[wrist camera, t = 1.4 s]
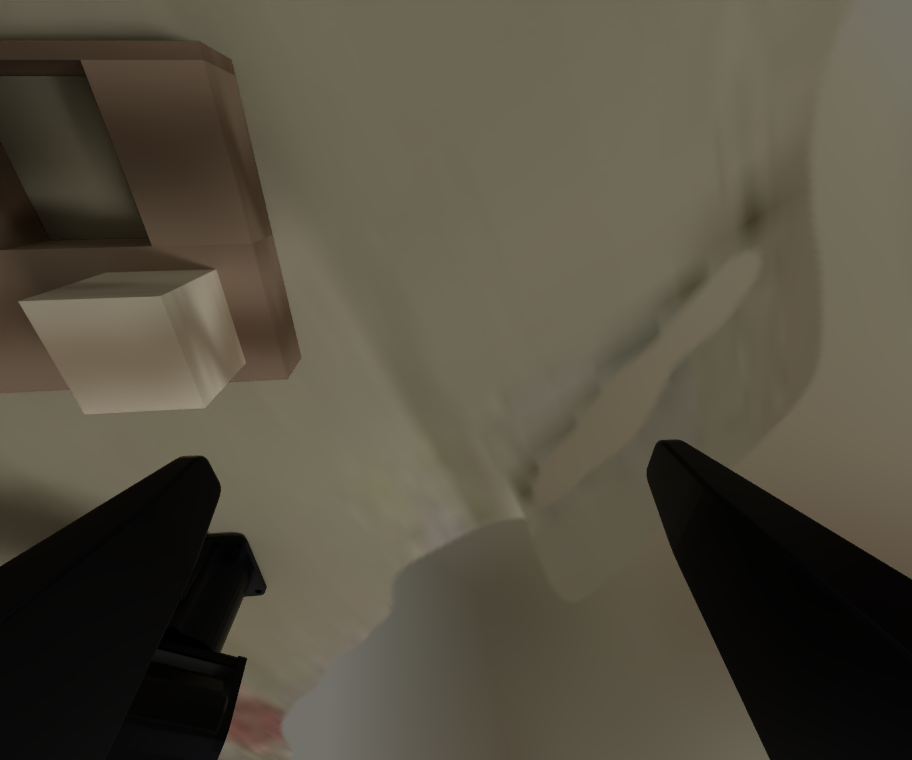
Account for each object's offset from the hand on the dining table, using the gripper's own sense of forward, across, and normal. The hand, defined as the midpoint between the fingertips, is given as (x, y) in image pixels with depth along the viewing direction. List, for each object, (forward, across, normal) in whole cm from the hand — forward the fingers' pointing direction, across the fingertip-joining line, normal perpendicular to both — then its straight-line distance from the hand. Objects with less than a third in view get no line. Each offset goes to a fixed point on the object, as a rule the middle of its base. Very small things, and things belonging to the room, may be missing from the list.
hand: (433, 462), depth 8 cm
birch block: (+11, +12, +1) cm, 16 cm away
